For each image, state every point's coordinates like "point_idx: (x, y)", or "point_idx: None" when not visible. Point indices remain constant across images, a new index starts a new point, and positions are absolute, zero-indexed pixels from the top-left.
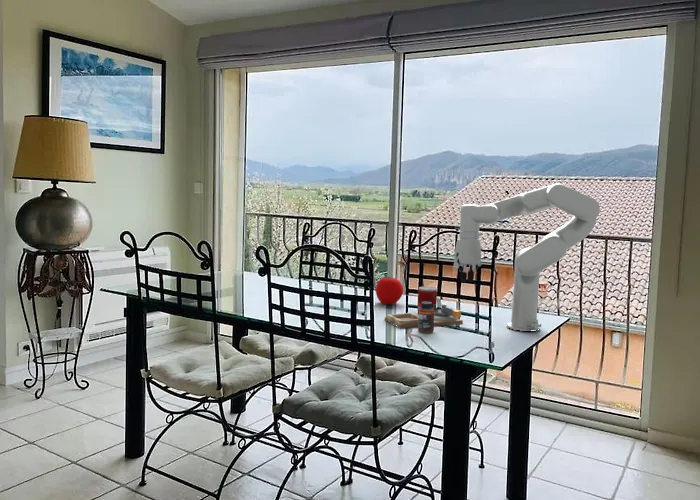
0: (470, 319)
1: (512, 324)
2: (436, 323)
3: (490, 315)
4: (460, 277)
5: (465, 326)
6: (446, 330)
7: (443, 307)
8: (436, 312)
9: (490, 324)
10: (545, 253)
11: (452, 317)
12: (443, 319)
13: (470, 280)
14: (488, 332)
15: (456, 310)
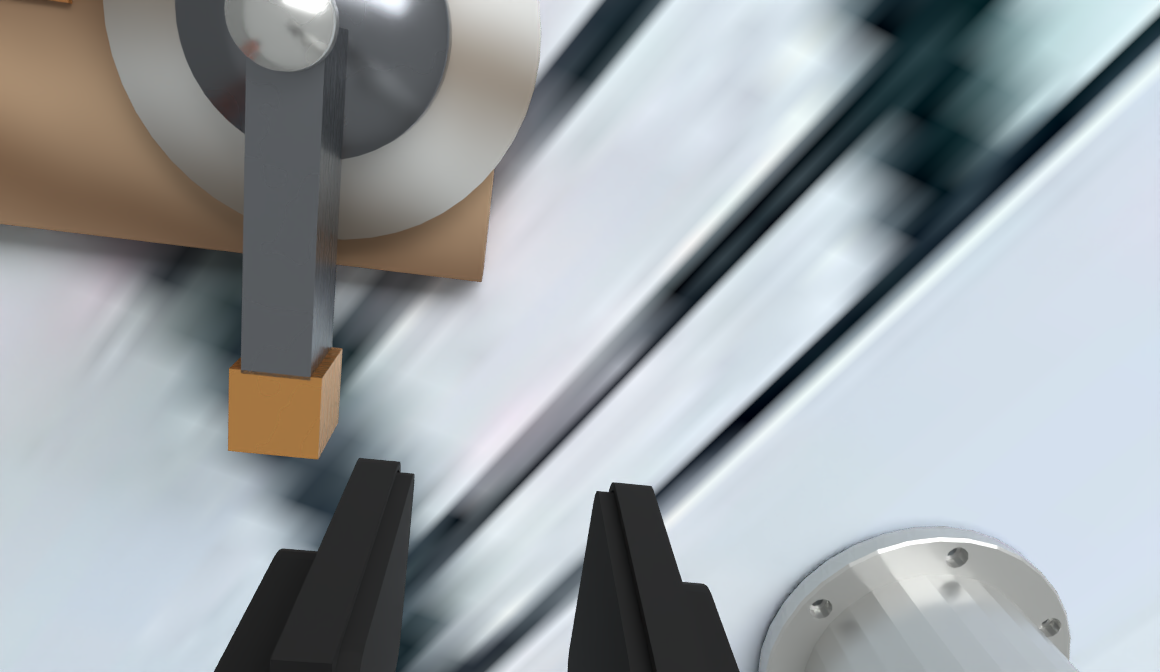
0: (717, 149)
1: (818, 656)
2: (92, 233)
3: (1106, 87)
4: (265, 574)
5: (426, 388)
6: (111, 441)
7: (251, 82)
8: (178, 27)
9: (745, 426)
10: None
11: (369, 207)
12: (223, 197)
13: (575, 641)
14: (488, 645)
15: (278, 399)
